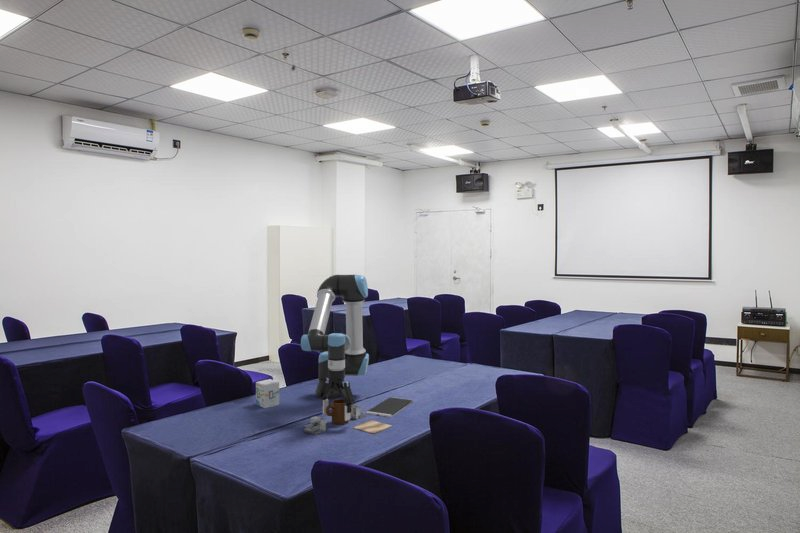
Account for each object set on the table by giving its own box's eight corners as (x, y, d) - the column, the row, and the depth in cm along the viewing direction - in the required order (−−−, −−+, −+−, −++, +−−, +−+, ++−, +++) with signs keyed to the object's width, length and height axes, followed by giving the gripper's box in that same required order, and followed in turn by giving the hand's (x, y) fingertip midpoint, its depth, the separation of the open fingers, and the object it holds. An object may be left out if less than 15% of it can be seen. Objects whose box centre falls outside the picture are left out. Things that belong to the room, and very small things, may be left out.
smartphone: (365, 415, 236) (365, 411, 236) (389, 399, 261) (389, 396, 261) (390, 419, 231) (390, 415, 231) (413, 403, 255) (413, 399, 255)
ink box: (255, 404, 250) (255, 381, 250) (270, 401, 256) (270, 378, 256) (264, 408, 244) (264, 384, 244) (279, 404, 250) (279, 381, 250)
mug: (331, 428, 215) (331, 407, 215) (320, 424, 220) (320, 403, 220) (352, 422, 224) (352, 401, 224) (340, 418, 229) (340, 397, 229)
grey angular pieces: (300, 432, 211) (300, 420, 210) (354, 413, 237) (354, 402, 237) (312, 436, 206) (312, 423, 206) (366, 416, 232) (366, 405, 232)
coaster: (353, 428, 216) (353, 427, 216) (371, 421, 226) (371, 420, 226) (374, 434, 209) (374, 433, 209) (392, 426, 218) (392, 425, 218)
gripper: (310, 366, 226) (310, 413, 227) (351, 374, 211) (351, 424, 211) (323, 364, 232) (322, 409, 232) (363, 371, 217) (363, 420, 217)
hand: (336, 417), depth 222 cm, fingers open, 13 cm apart
